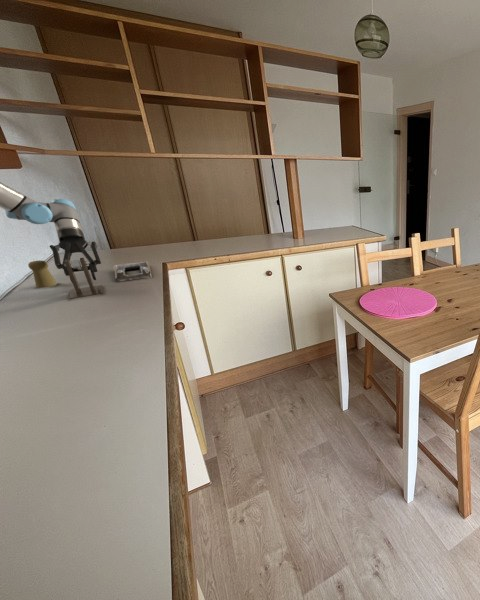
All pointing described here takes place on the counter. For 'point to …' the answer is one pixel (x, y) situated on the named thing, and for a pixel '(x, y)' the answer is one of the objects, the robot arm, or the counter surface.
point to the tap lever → (77, 266)
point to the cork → (41, 274)
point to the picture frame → (132, 266)
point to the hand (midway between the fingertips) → (83, 279)
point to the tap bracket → (78, 291)
